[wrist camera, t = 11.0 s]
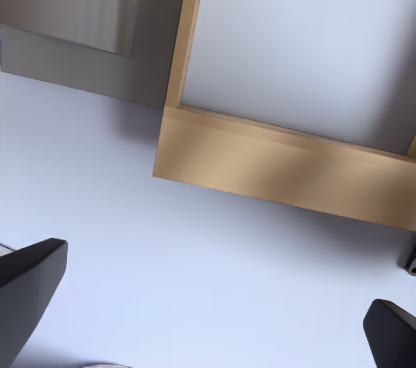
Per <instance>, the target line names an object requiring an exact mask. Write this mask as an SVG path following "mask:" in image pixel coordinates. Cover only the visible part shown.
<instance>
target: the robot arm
mask: <svg viewBox="0 0 416 368" xmlns="http://www.w3.org/2000/svg"><path fill="white" fill-rule="evenodd" d="M67 251H68V243H67V241H66V240H62V239H57V238H49V239H47V240H44V241H41V242H38V243H36V244H33V245H30V246H27V247H25V248H22V249H19V250H16V251H14V252H11V253H8V254H5V255H3V256H0V368H10V366H11V365H12V363H13V362H14V360H15V359H16V357H17V355H18V354H19V352H20V351H21V349H22V348H23V346H24V345H25V343H26V342H27V340H28V339H29V337H30V336H31V334H32V333H33V331H34V330H35V328H36V326H37V325H38V323H39V321H40V319H41V317H42V316H43V314H44V312H45V310H46V308H47V306H48V304H49V302H50V300H51V298H52V296H53V294H54V292H55V290H56V288H57V287H58V285H59V283H60V281H61V279H62V277H63V275H64V272H65V269H66V263H67ZM413 268H414V269H413ZM412 269H413V270H412ZM405 270H406V271H407V272H408V273H409V274H410V275H412V276H416V247H415V249H414V251H413V253H412V255H411V257H410V259H409V261H408V263H407V264H406V267H405ZM363 328H364V331H365V334H366V337H367V340H368V343H369V346H370V349H371V352H372V355H373V358H374V361H375V364H376V366H377V368H416V317H414V316H413V315H411V314H410V313H408V312H407V311H405V310H404V309H402V308H400V307H399V306H397V305H396V304H394V303H393V302H391V301H388V300H382V299H375V300H374V301H373V302H372V304H371V306H370V308H369V310H368V312H367V314H366V316H365V318H364V320H363Z"/></svg>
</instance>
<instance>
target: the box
mask: <svg viewBox="0 0 416 368" xmlns="http://www.w3.org/2000/svg"><path fill="white" fill-rule="evenodd" d="M137 4H138V0H0V25H1V26H4V27H8V28H12V29H15V30H19V31H23V32H26V33H30V34H34V35H38V36H41V37H45V38H49V39H53V40H57V41H62V42H66V43H70V44H74V45H78V46H83V47H87V48H91V49H95V50H99V51H103V52H108V53H112V54H116V55H120V56H124V57H128V58H132V55H133V48H134V40H135V33H136V25H137V17H138V10H139V6H138V5H137Z"/></svg>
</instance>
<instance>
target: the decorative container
mask: <svg viewBox="0 0 416 368" xmlns="http://www.w3.org/2000/svg"><path fill="white" fill-rule="evenodd" d="M83 368H129V367H125V366H121V365H111V364H98V365H92V366H86V367H83Z"/></svg>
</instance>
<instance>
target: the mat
mask: <svg viewBox="0 0 416 368" xmlns="http://www.w3.org/2000/svg"><path fill="white" fill-rule="evenodd" d="M182 2H183V0H138V4H137V5H138V6H139V10H138V17H137V25H136V33H135V40H134V48H133V55H132V58H128V57H124V56H120V55H116V54H112V53H108V52H103V51H99V50H95V49H91V48H87V47H83V46H78V45H74V44H70V43H66V42H62V41H57V40H53V39H49V38H45V37H41V36H38V35H34V34H30V33H26V32H23V31H19V30H15V29H12V28H8V27H4V26H1V72H6V73H10V74H14V75H19V76H23V77H27V78H32V79H36V80H40V81H45V82H49V83H53V84H58V85H62V86H67V87H71V88H75V89H80V90H84V91H88V92H93V93H97V94H101V95H106V96H110V97H114V98H119V99H123V100H127V101H132V102H136V103H140V104H145V105H149V106H153V107H158V108H162V109H163V108H164V105H165V100H166V94H167V88H168V82H169V77H170V71H171V65H172V59H173V54H174V48H175V42H176V37H177V31H178V25H179V19H180V14H181V8H182Z"/></svg>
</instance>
